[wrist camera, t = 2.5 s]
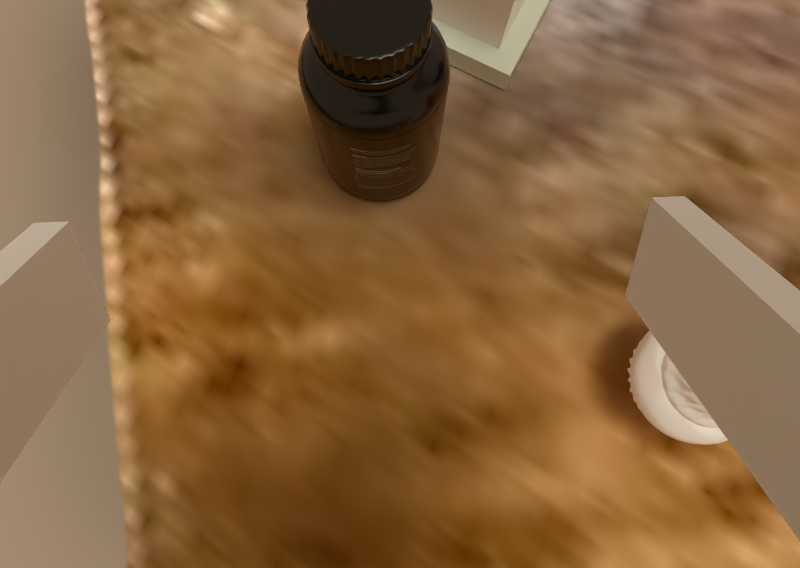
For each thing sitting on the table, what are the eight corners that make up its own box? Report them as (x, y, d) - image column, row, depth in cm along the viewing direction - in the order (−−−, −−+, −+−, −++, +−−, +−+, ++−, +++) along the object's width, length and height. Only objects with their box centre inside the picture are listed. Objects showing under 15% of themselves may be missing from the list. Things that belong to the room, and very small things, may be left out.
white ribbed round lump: (582, 356, 29) (641, 347, 22) (673, 305, 29) (758, 281, 23) (642, 458, 28) (724, 483, 21) (735, 403, 28) (845, 410, 22)
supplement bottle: (455, 125, 31) (492, -30, 20) (406, 222, 30) (414, 119, 18) (354, 80, 32) (331, -99, 20) (302, 173, 31) (245, 42, 19)
